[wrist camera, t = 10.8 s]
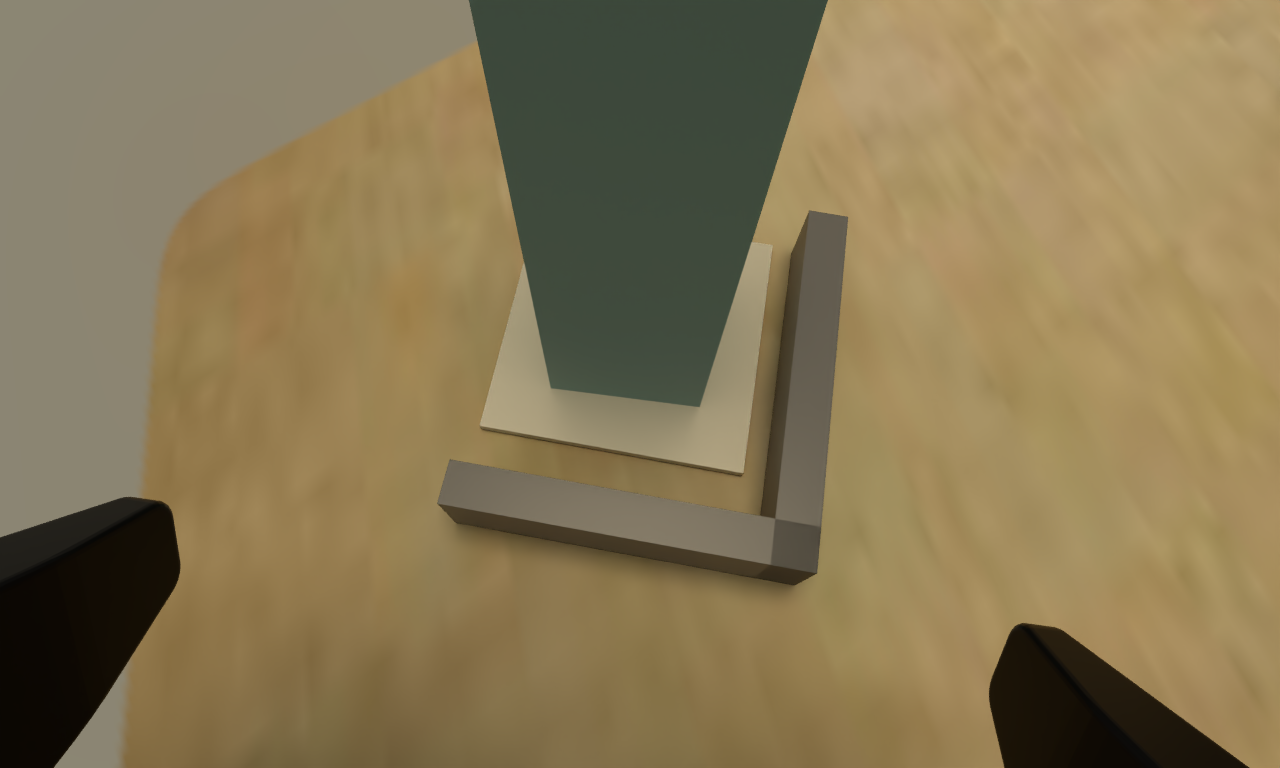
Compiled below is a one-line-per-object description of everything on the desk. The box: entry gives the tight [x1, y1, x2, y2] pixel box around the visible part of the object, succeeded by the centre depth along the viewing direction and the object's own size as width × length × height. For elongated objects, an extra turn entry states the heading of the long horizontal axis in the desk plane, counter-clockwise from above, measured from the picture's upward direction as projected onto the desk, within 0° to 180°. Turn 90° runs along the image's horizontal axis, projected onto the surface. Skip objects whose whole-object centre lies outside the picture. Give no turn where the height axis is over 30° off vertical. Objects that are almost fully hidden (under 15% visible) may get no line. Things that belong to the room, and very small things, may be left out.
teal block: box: [469, 0, 828, 407], centre depth 17 cm, size 5×5×15 cm
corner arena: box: [437, 210, 848, 585], centre depth 22 cm, size 11×10×2 cm
